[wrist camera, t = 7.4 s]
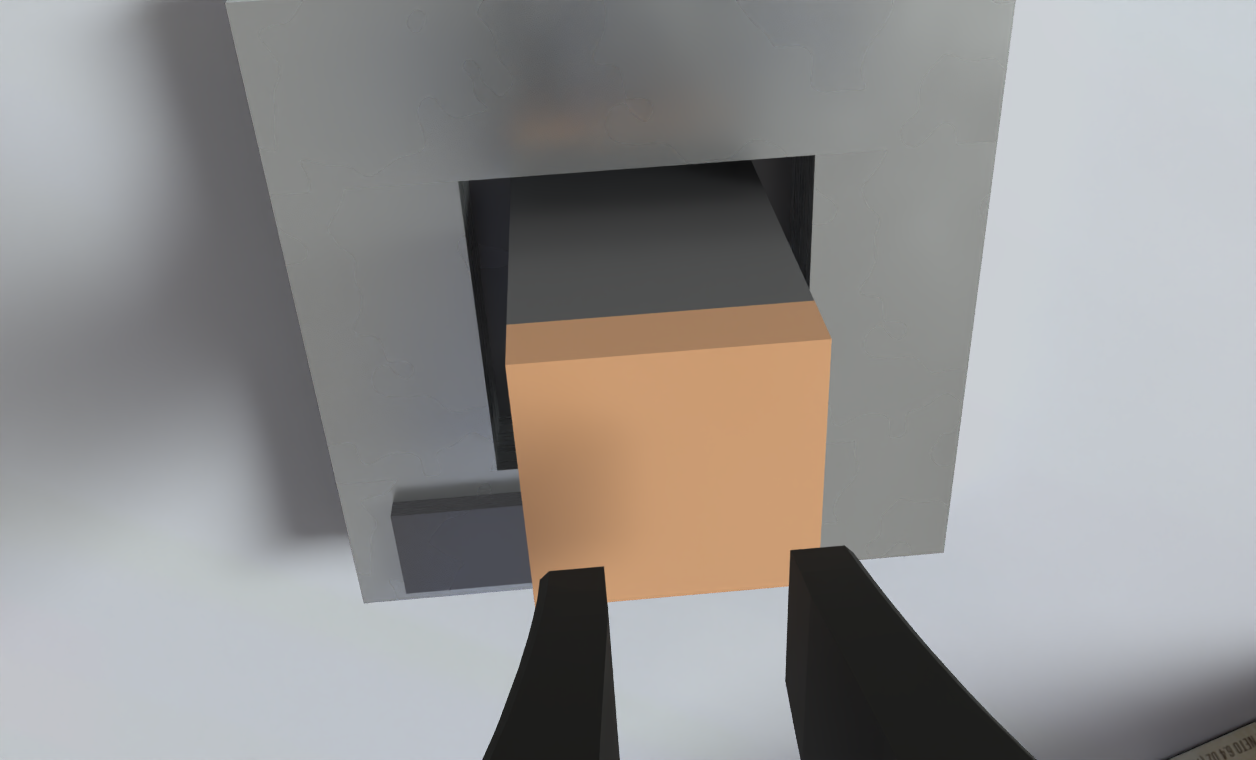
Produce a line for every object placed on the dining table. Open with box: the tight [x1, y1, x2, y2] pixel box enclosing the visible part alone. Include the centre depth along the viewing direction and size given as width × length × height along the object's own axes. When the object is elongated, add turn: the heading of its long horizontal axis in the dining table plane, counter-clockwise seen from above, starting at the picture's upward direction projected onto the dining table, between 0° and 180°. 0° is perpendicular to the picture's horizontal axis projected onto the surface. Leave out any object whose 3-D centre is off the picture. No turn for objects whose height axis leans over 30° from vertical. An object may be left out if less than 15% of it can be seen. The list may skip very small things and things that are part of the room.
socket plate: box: [225, 0, 1016, 603], centre depth 19 cm, size 11×11×2 cm
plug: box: [505, 160, 832, 607], centre depth 18 cm, size 4×4×6 cm
